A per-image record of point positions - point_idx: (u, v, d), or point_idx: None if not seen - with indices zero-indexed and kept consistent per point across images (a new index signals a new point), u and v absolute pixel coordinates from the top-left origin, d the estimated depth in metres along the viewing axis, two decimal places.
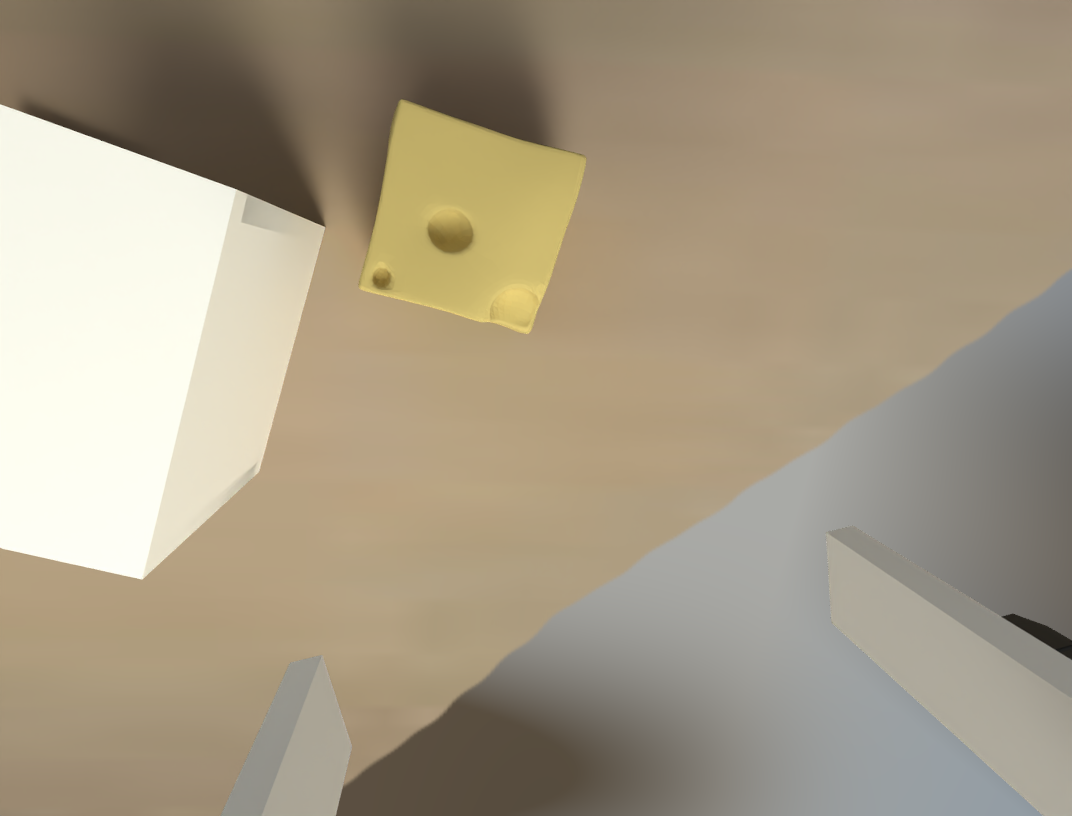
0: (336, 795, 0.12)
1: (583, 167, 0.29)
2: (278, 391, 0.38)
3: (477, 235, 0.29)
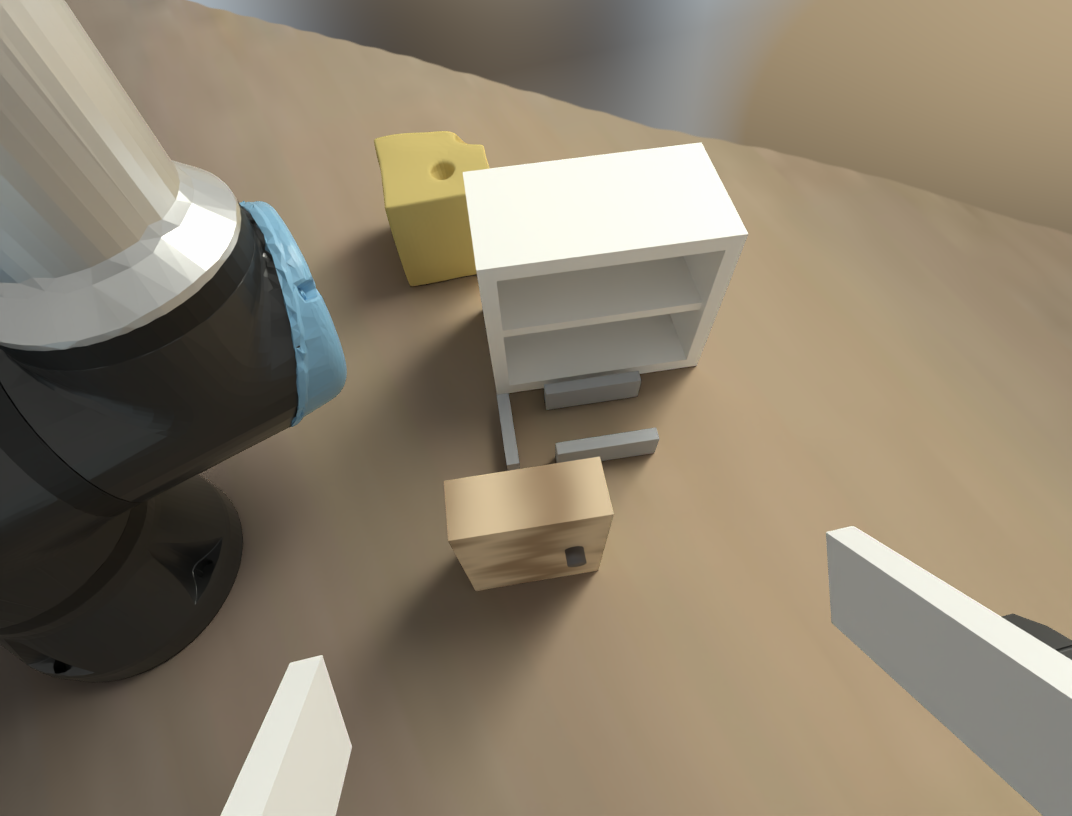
0: (336, 795, 0.12)
1: (380, 137, 0.51)
2: None
3: (438, 160, 0.49)
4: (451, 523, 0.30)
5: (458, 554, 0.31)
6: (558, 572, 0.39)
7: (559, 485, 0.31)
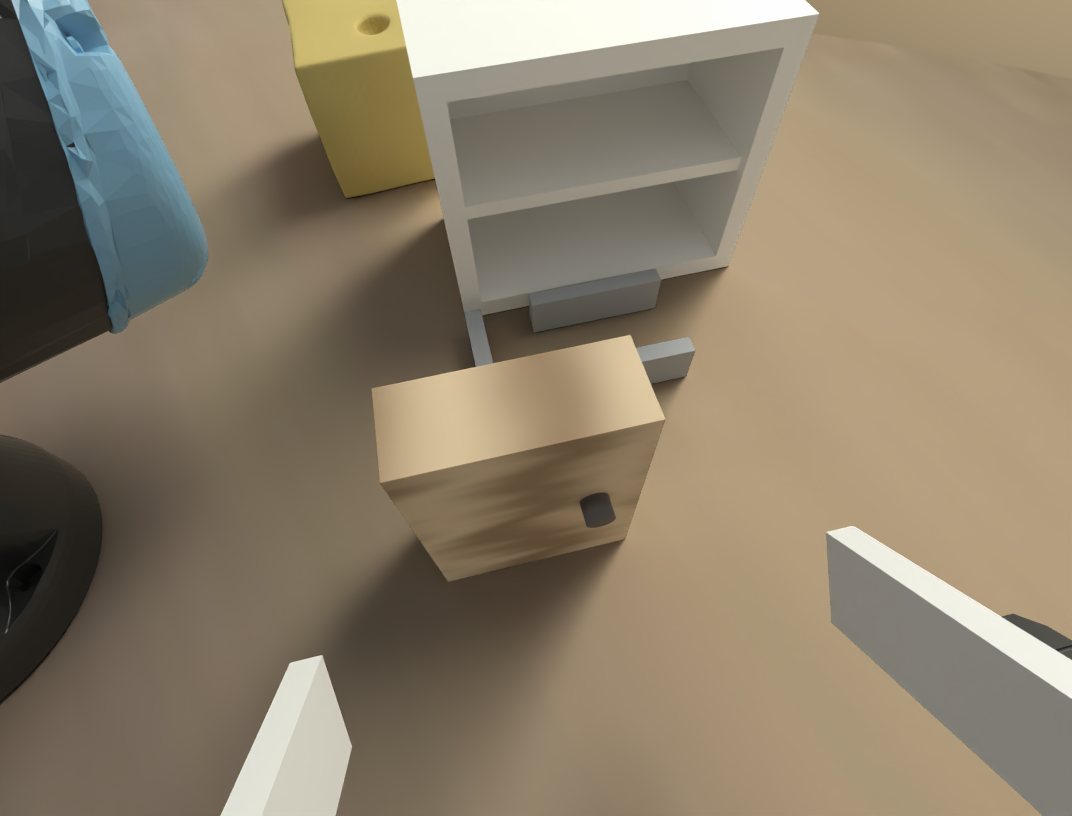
0: (336, 795, 0.12)
1: None
2: None
3: (367, 14, 0.37)
4: (384, 453, 0.17)
5: (405, 513, 0.19)
6: (568, 544, 0.26)
7: (567, 381, 0.18)
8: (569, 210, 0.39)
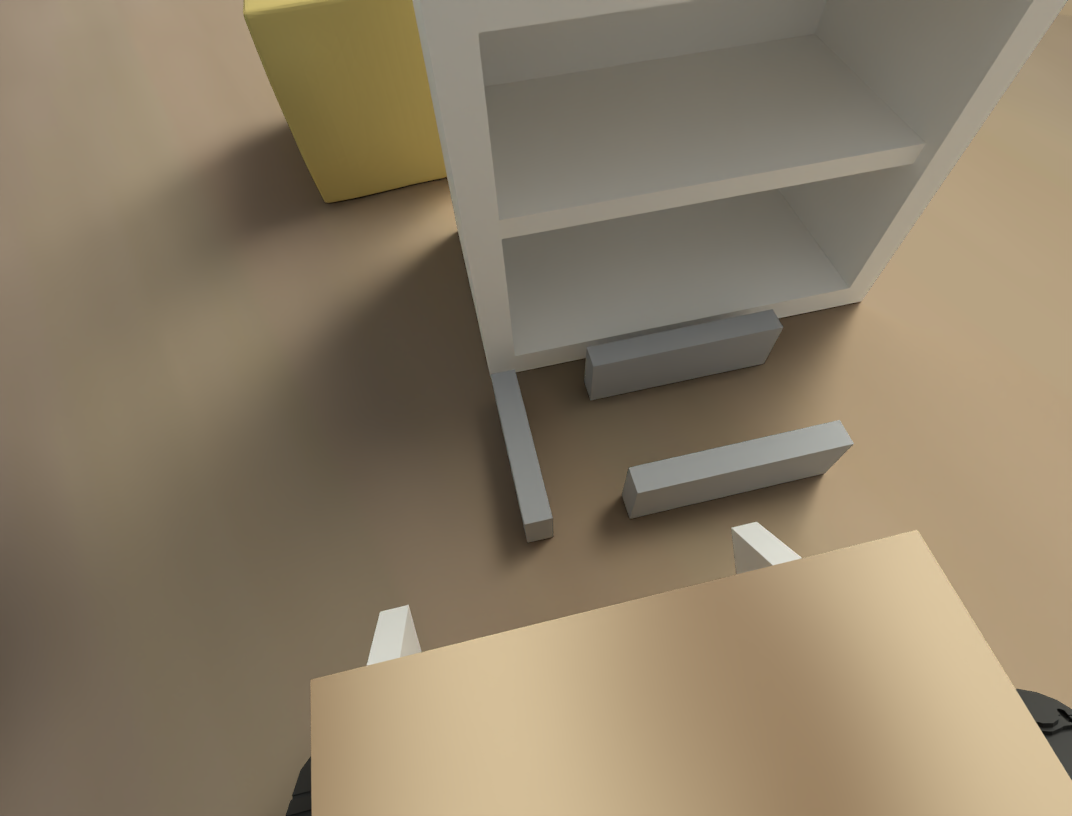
0: None
1: None
2: None
3: None
4: None
5: None
6: None
7: (796, 668, 0.07)
8: (632, 222, 0.28)
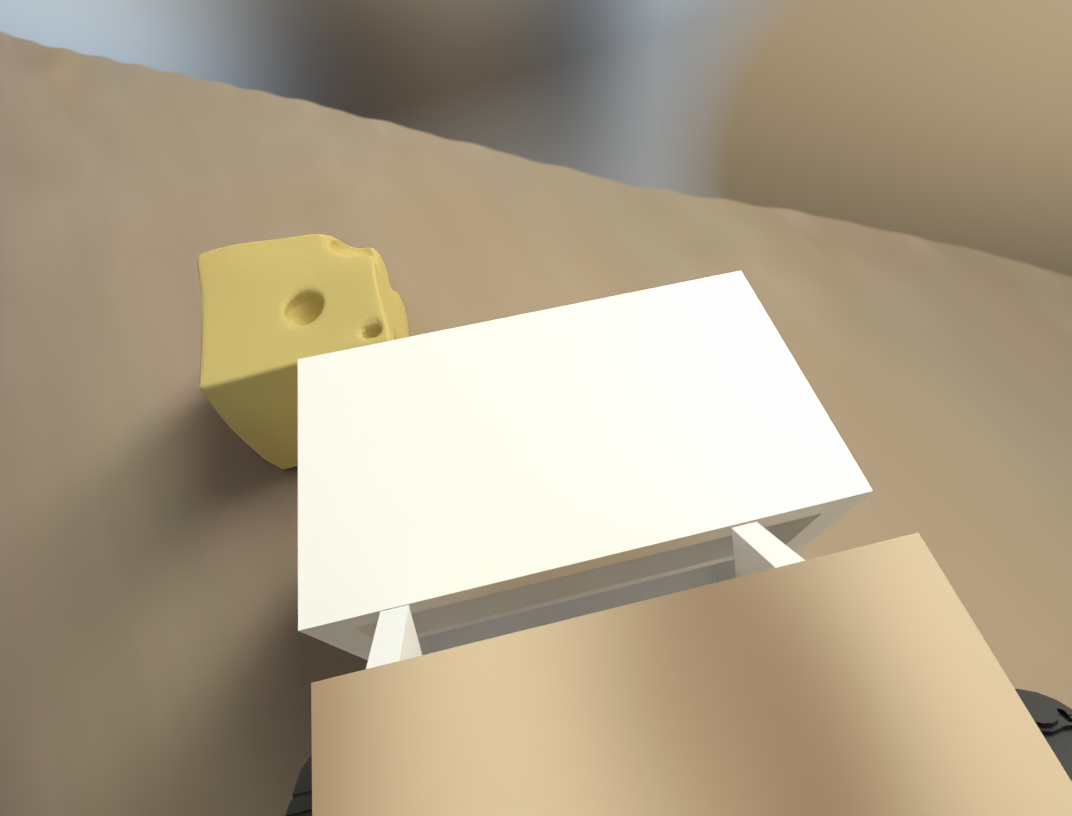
0: None
1: None
2: None
3: (298, 288, 0.30)
4: None
5: None
6: None
7: (796, 672, 0.07)
8: None
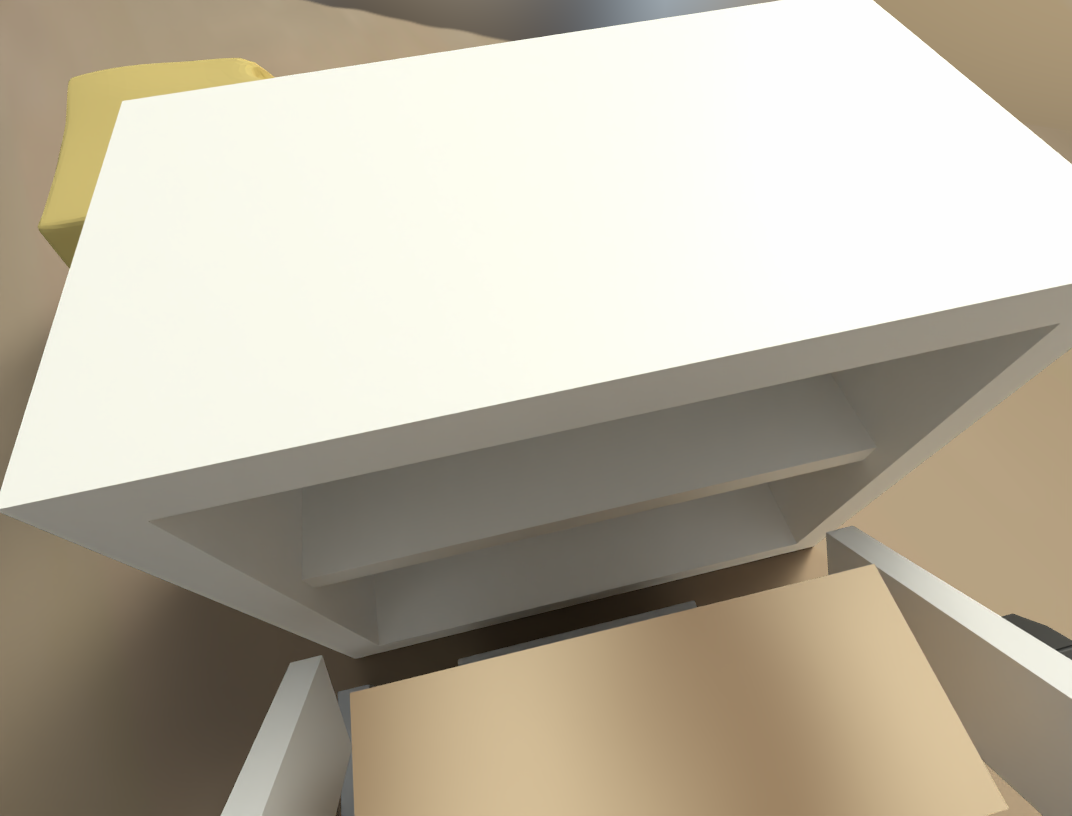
0: (336, 795, 0.12)
1: (82, 75, 0.23)
2: None
3: None
4: None
5: None
6: None
7: (765, 686, 0.09)
8: None
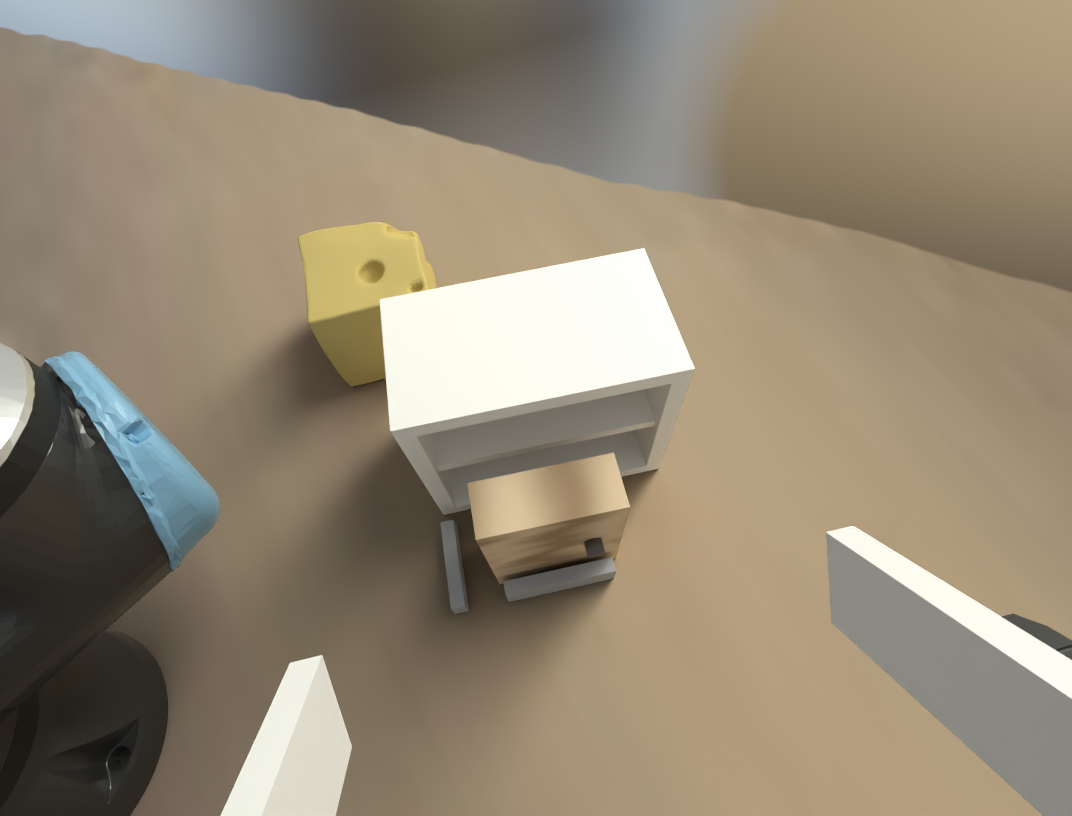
0: (336, 795, 0.12)
1: (304, 234, 0.47)
2: None
3: (366, 259, 0.45)
4: (477, 522, 0.31)
5: (484, 551, 0.33)
6: (577, 562, 0.40)
7: (576, 481, 0.32)
8: None
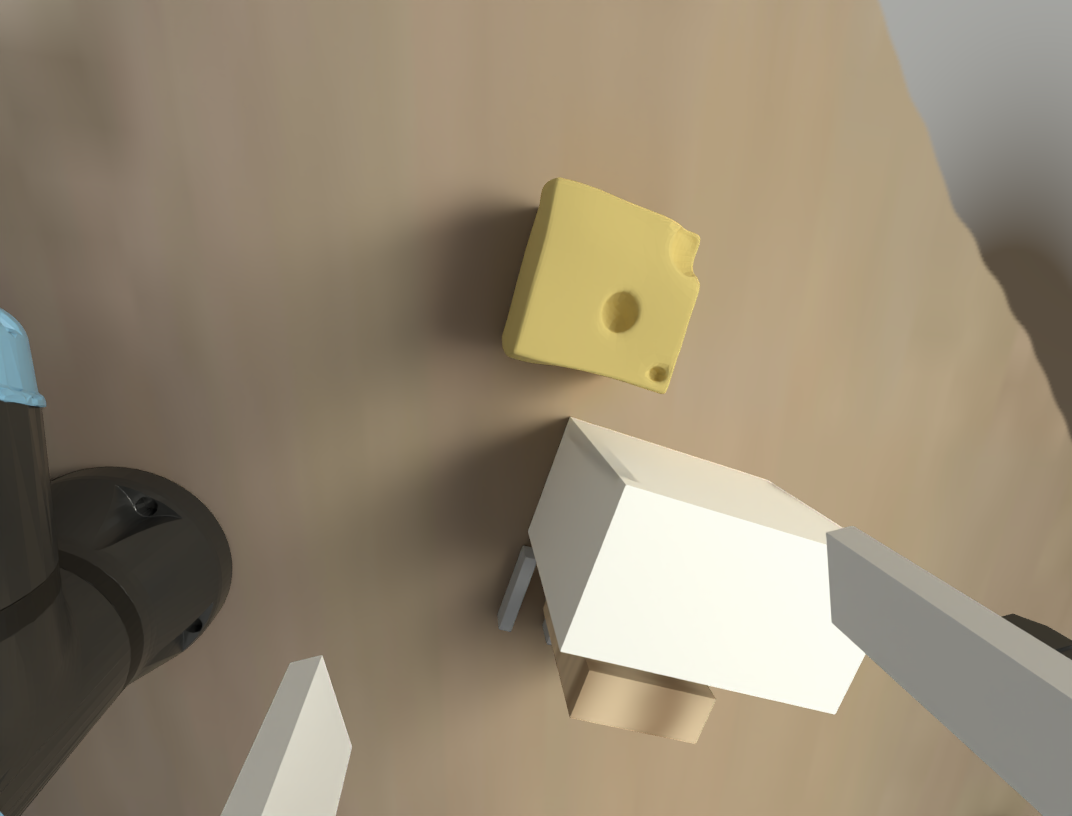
0: (336, 795, 0.12)
1: (567, 181, 0.29)
2: (704, 460, 0.44)
3: (625, 286, 0.31)
4: (578, 705, 0.34)
5: None
6: None
7: (672, 708, 0.35)
8: None
